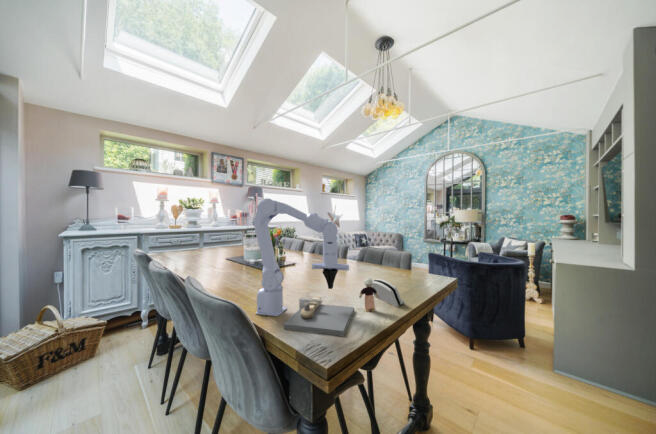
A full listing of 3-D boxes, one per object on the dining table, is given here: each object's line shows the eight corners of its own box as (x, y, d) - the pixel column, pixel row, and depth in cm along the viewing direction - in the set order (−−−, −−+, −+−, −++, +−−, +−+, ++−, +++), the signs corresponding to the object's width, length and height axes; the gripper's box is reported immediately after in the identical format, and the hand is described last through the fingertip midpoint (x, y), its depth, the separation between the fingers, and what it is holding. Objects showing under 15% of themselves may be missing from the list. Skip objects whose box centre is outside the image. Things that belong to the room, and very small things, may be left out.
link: (311, 319, 78) (311, 307, 78) (299, 318, 79) (298, 306, 79) (322, 302, 94) (322, 292, 94) (312, 302, 95) (312, 292, 95)
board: (283, 328, 75) (283, 324, 75) (305, 306, 95) (305, 303, 95) (343, 335, 70) (343, 331, 70) (354, 311, 89) (353, 307, 89)
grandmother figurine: (374, 307, 93) (374, 275, 93) (379, 310, 89) (379, 278, 89) (357, 310, 90) (357, 277, 90) (362, 313, 87) (361, 280, 87)
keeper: (299, 310, 87) (299, 299, 87) (301, 308, 89) (301, 297, 89) (320, 312, 84) (320, 301, 85) (322, 310, 86) (322, 299, 86)
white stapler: (406, 304, 95) (399, 283, 94) (397, 310, 93) (390, 288, 92) (380, 293, 110) (374, 274, 109) (373, 298, 108) (366, 279, 107)
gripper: (350, 252, 91) (350, 286, 91) (315, 251, 95) (316, 284, 95) (347, 254, 84) (347, 291, 84) (310, 253, 88) (310, 289, 88)
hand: (330, 288), depth 89 cm, fingers closed
